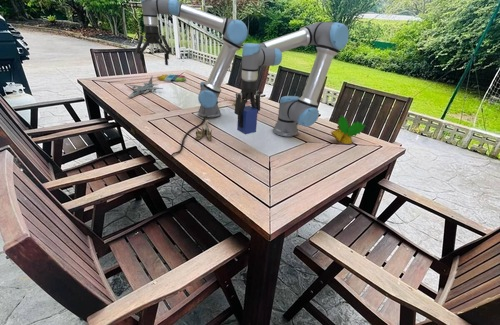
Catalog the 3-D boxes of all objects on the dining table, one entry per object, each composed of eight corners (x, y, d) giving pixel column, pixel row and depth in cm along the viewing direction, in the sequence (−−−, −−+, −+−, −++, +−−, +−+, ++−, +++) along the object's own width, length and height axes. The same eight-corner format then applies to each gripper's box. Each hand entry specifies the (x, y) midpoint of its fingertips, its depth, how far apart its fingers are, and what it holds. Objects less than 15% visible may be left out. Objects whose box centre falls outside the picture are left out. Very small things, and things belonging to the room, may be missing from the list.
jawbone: (214, 123, 159) (213, 113, 150) (213, 145, 152) (211, 136, 143) (199, 123, 159) (196, 113, 150) (197, 144, 152) (194, 135, 143)
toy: (261, 91, 228) (254, 99, 202) (261, 99, 231) (253, 108, 205) (231, 87, 233) (220, 95, 207) (230, 95, 236) (219, 104, 210)
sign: (184, 80, 268) (154, 78, 265) (184, 82, 269) (154, 80, 266) (187, 75, 290) (160, 74, 287) (187, 76, 291) (160, 75, 288)
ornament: (349, 145, 167) (356, 122, 165) (358, 147, 159) (366, 123, 158) (324, 137, 159) (331, 113, 157) (333, 139, 151) (341, 114, 149)
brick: (247, 127, 139) (249, 105, 133) (256, 132, 134) (257, 109, 128) (237, 129, 135) (237, 107, 129) (245, 134, 130) (246, 111, 124)
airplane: (122, 88, 234) (120, 76, 229) (158, 85, 247) (157, 74, 242) (127, 100, 206) (124, 88, 201) (167, 97, 219) (166, 85, 214)
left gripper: (170, 25, 155) (173, 63, 165) (125, 24, 142) (131, 65, 152) (175, 26, 150) (177, 65, 160) (129, 25, 136) (135, 67, 147)
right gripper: (260, 76, 130) (257, 120, 141) (227, 79, 119) (226, 126, 130) (270, 79, 125) (266, 124, 136) (236, 83, 114) (234, 132, 125)
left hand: (155, 65), depth 156 cm, fingers open, 13 cm apart
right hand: (246, 125), depth 133 cm, fingers closed on brick, 7 cm apart
